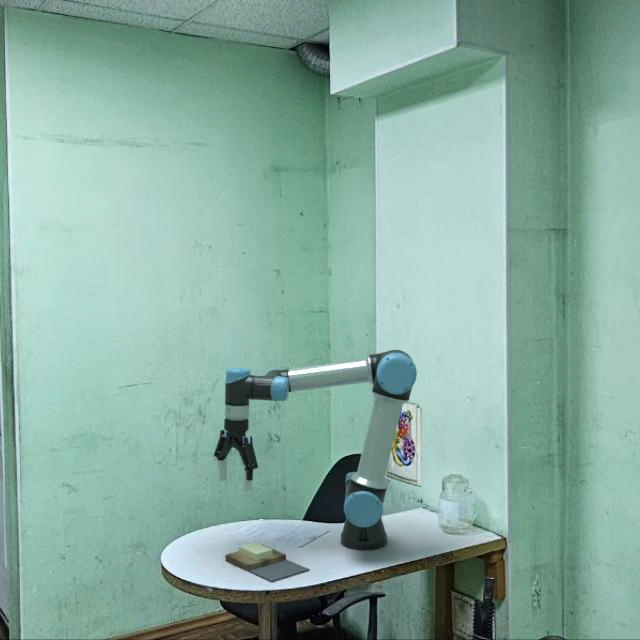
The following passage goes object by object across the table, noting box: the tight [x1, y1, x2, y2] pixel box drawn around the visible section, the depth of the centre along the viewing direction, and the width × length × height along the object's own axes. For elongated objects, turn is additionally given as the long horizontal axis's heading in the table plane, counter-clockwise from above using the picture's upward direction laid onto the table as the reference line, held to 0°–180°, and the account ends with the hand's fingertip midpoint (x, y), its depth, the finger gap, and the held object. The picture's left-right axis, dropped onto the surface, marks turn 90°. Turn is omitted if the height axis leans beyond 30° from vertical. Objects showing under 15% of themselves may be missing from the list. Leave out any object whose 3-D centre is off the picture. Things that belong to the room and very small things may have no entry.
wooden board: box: [225, 544, 287, 573], centre depth 255 cm, size 14×12×2 cm
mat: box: [249, 559, 310, 583], centre depth 246 cm, size 14×10×1 cm
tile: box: [238, 542, 273, 561], centre depth 255 cm, size 9×6×2 cm, turn 41°
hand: (234, 485), depth 260 cm, fingers open, 13 cm apart
